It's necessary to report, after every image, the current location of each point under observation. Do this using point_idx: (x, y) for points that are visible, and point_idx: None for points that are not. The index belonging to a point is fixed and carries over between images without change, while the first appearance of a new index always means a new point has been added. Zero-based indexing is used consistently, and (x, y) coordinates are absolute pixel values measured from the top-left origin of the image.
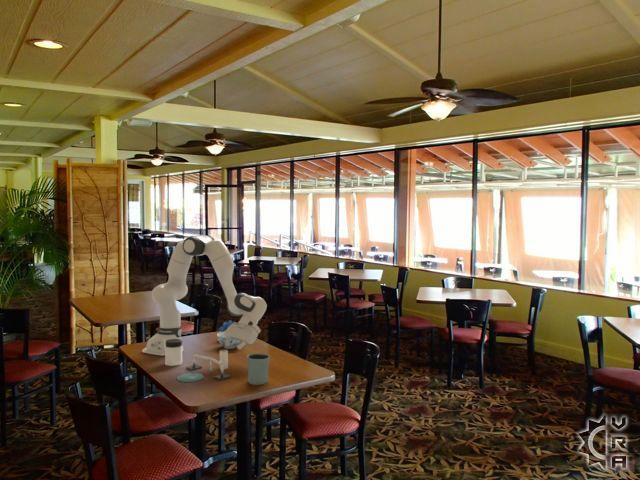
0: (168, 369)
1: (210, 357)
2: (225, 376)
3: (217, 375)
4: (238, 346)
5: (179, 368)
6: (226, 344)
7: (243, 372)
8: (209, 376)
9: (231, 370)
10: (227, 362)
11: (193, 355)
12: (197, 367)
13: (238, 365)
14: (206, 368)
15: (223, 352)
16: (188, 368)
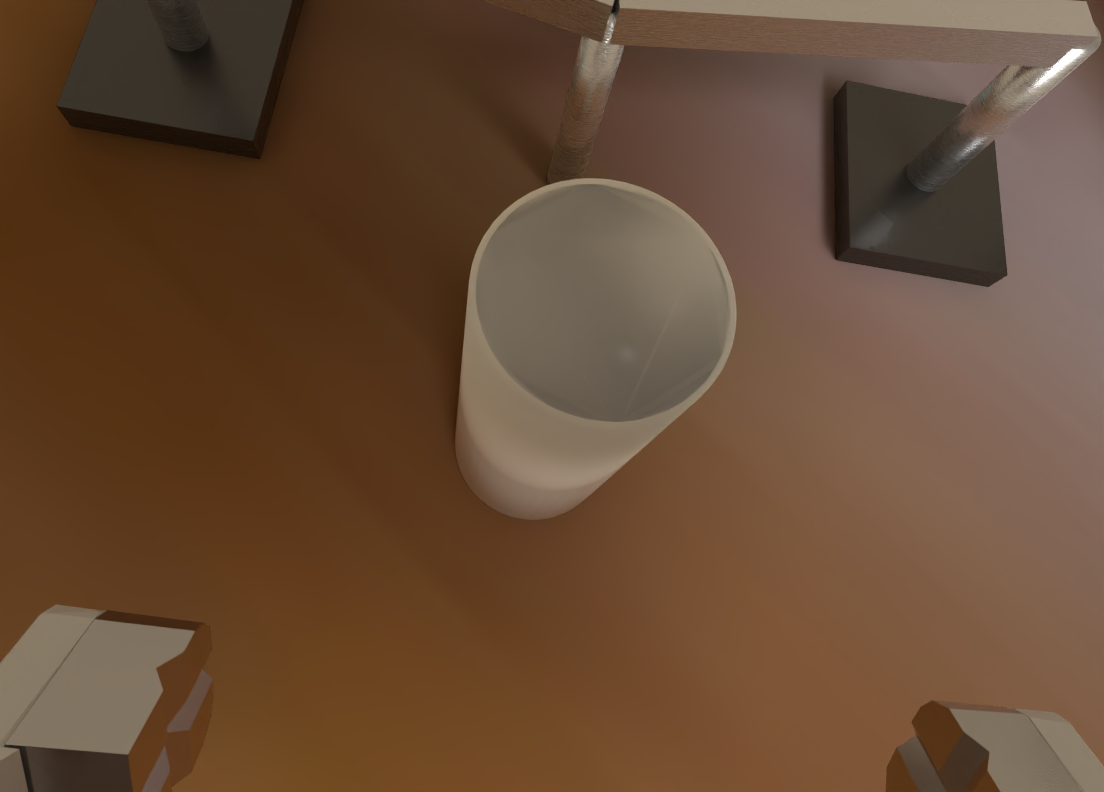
0: (1097, 10)
1: (652, 7)
2: (119, 44)
3: (282, 30)
4: (78, 645)
5: (1044, 97)
6: (942, 701)
7: (3, 460)
8: (423, 26)
9: (315, 426)
10: (462, 436)
11: (1067, 11)
12: (855, 174)
13: (412, 779)
14: (765, 281)
15: (515, 212)
16: (926, 103)
